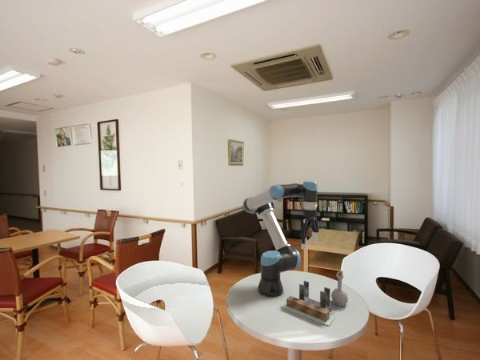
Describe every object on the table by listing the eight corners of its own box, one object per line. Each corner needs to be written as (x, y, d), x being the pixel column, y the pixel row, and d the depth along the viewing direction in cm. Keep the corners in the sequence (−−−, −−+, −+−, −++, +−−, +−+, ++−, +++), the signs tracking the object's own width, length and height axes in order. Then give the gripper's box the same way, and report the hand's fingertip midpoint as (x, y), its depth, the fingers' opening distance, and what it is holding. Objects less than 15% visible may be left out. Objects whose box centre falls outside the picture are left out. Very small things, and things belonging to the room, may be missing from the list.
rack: (296, 302, 142) (296, 283, 141) (301, 297, 147) (302, 279, 147) (328, 314, 130) (328, 294, 130) (332, 308, 136) (333, 289, 135)
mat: (281, 306, 137) (281, 306, 137) (288, 300, 143) (288, 299, 143) (328, 326, 121) (328, 325, 121) (334, 318, 127) (334, 317, 127)
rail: (286, 305, 138) (286, 298, 137) (290, 302, 141) (290, 295, 140) (326, 321, 123) (326, 314, 123) (329, 318, 126) (329, 310, 126)
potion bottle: (349, 307, 136) (350, 275, 135) (332, 306, 138) (332, 273, 137) (346, 299, 145) (347, 268, 144) (329, 297, 146) (330, 267, 145)
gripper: (306, 213, 130) (305, 253, 131) (325, 206, 149) (324, 242, 150) (293, 211, 135) (292, 250, 136) (312, 205, 154) (312, 239, 155)
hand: (309, 246), depth 143 cm, fingers open, 13 cm apart
